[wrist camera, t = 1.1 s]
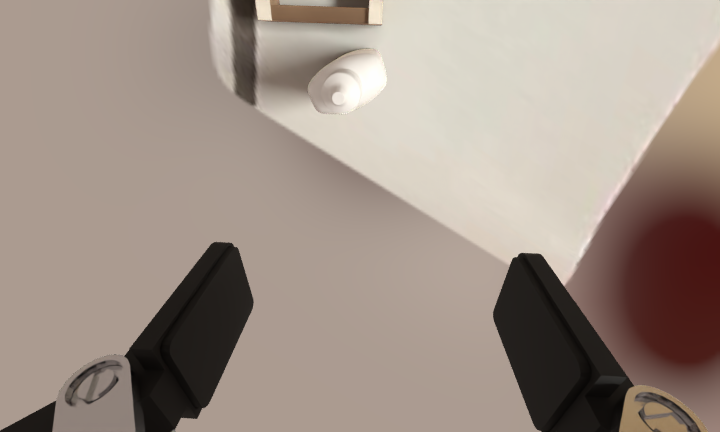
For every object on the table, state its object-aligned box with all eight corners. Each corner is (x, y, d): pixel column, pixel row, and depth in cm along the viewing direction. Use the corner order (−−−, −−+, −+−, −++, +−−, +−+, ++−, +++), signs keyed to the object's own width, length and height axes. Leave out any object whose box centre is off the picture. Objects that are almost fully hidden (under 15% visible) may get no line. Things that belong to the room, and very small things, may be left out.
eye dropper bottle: (324, 41, 25) (288, 46, 15) (388, 50, 26) (394, 62, 15) (321, 94, 28) (288, 129, 18) (380, 102, 28) (381, 143, 18)
